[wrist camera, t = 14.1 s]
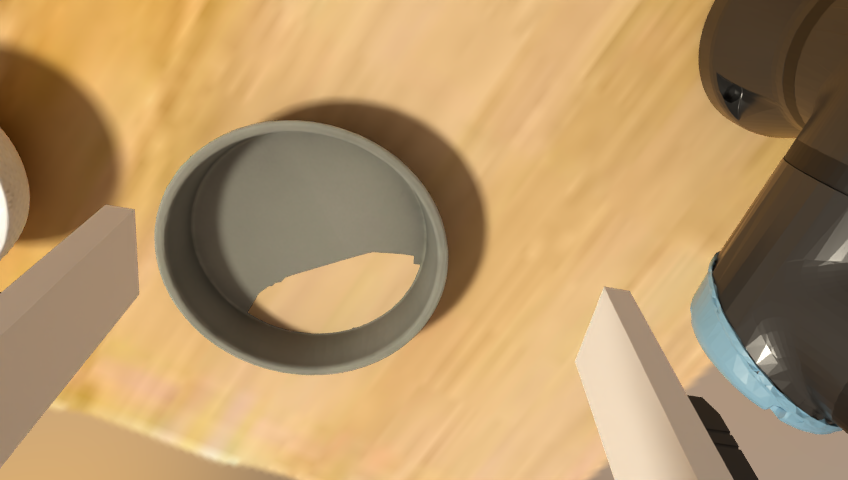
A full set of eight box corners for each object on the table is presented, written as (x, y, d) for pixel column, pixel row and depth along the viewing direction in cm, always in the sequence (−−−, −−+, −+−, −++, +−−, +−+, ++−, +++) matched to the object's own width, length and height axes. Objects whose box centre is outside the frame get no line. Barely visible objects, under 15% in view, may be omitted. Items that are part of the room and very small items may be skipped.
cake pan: (126, 267, 54) (104, 293, 50) (257, 43, 46) (243, 53, 42) (350, 385, 61) (346, 416, 57) (500, 211, 53) (508, 233, 49)
